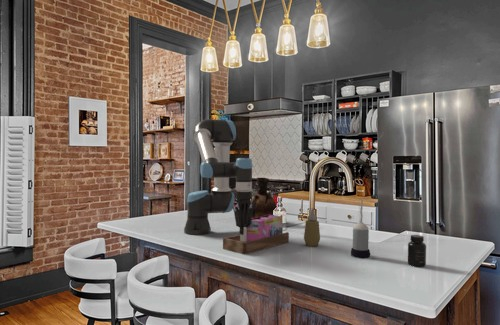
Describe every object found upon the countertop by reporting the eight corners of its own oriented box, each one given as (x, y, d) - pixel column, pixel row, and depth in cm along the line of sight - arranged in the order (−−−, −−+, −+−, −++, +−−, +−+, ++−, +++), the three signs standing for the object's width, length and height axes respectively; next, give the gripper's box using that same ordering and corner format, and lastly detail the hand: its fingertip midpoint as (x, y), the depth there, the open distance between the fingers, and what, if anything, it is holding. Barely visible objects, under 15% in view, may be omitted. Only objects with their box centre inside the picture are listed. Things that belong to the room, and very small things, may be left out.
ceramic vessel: (262, 219, 255) (262, 176, 254) (282, 222, 243) (283, 177, 242) (241, 223, 239) (242, 177, 239) (261, 226, 227) (262, 178, 227)
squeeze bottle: (321, 244, 184) (321, 208, 183) (318, 248, 176) (319, 210, 176) (305, 242, 186) (305, 207, 186) (302, 246, 179) (302, 209, 178)
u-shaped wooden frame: (222, 248, 172) (223, 238, 172) (267, 237, 196) (267, 228, 196) (244, 254, 163) (244, 243, 162) (288, 242, 187) (288, 232, 187)
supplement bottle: (404, 262, 153) (404, 234, 153) (419, 262, 153) (420, 234, 153) (413, 267, 146) (413, 237, 146) (429, 267, 147) (429, 237, 146)
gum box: (271, 238, 196) (271, 213, 196) (284, 240, 191) (284, 214, 191) (246, 247, 176) (246, 219, 176) (260, 250, 172) (260, 221, 171)
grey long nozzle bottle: (373, 256, 163) (374, 200, 162) (364, 259, 157) (365, 201, 157) (356, 252, 169) (357, 198, 168) (347, 255, 163) (348, 199, 163)
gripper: (240, 192, 164) (239, 244, 164) (258, 190, 174) (258, 240, 174) (228, 191, 169) (227, 242, 169) (247, 189, 179) (246, 238, 179)
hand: (243, 241), depth 172 cm, fingers closed
